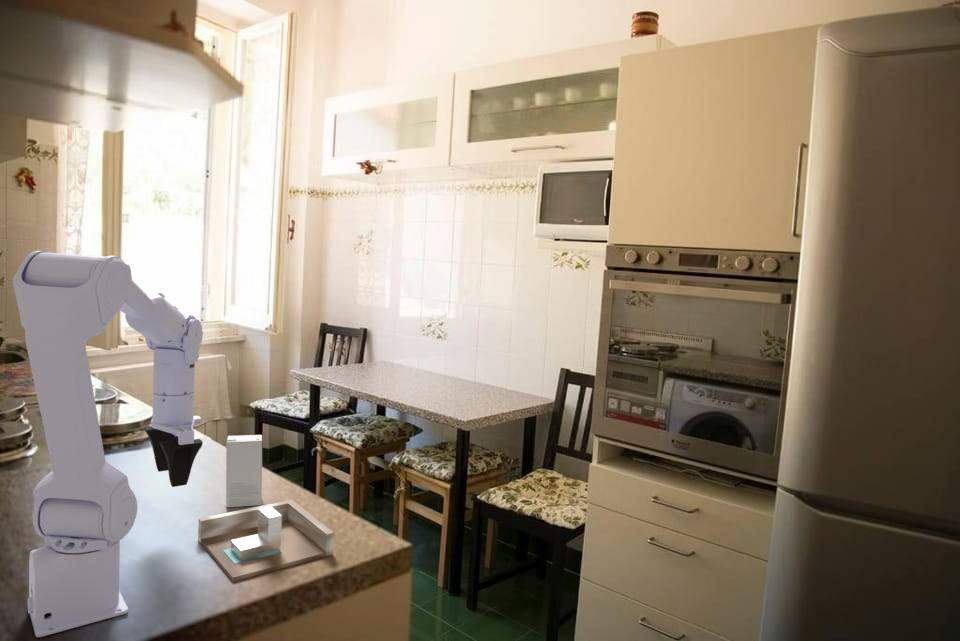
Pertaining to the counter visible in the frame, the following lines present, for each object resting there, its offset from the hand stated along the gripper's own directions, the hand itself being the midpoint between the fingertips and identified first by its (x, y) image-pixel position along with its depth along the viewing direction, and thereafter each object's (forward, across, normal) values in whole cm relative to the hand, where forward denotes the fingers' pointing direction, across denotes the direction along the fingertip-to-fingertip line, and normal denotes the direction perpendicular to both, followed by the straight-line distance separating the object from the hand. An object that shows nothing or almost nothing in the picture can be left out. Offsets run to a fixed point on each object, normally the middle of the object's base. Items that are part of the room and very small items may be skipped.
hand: (171, 477), depth 100 cm
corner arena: (+9, -12, -10) cm, 18 cm away
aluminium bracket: (+9, -13, -8) cm, 18 cm away
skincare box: (+10, +7, -14) cm, 18 cm away
